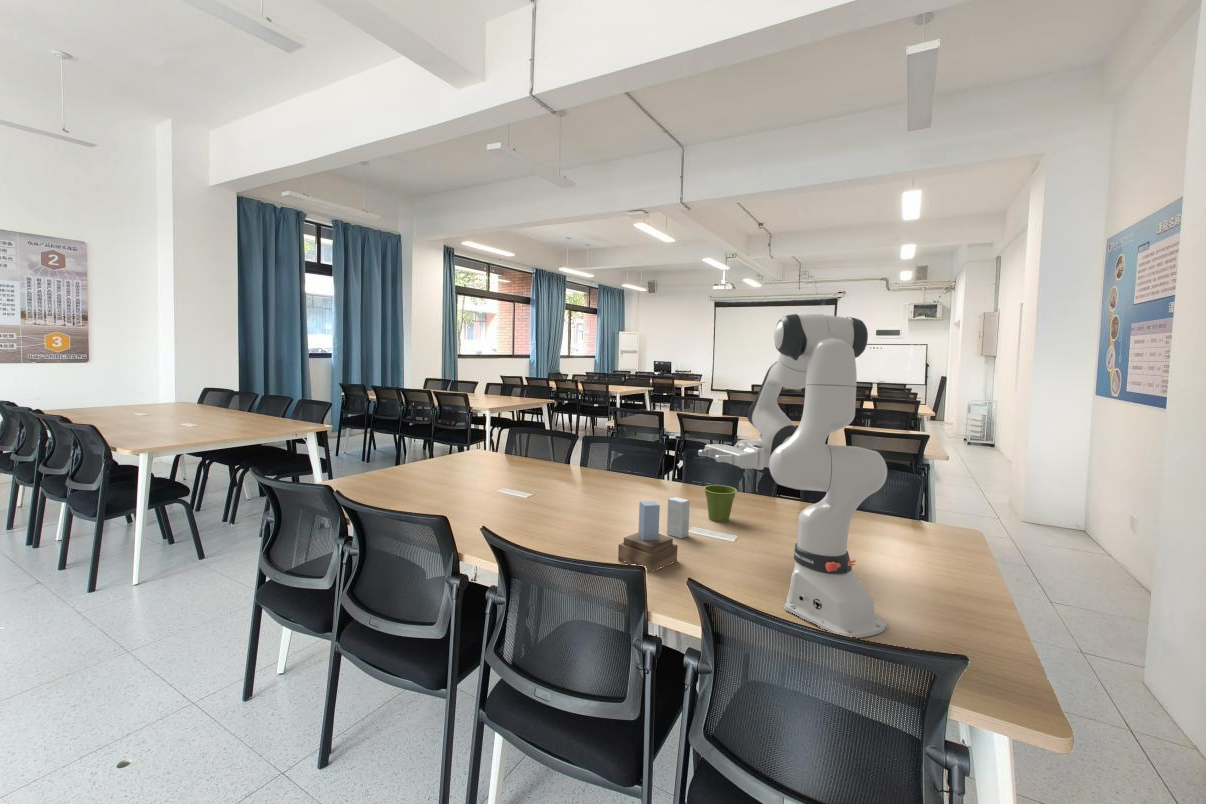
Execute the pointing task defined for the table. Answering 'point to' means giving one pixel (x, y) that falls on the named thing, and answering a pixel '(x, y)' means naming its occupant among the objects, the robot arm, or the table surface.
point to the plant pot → (719, 501)
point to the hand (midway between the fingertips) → (707, 455)
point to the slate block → (649, 520)
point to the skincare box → (678, 517)
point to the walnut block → (648, 551)
